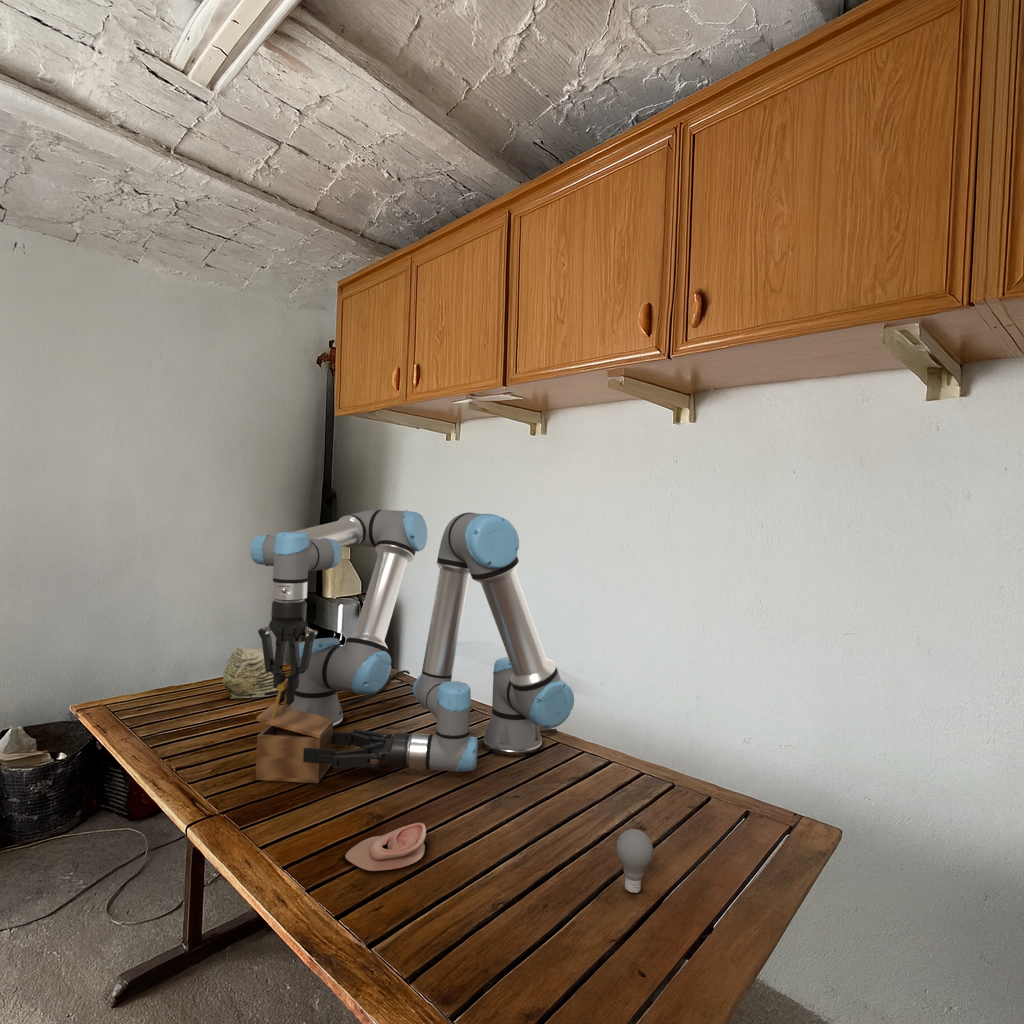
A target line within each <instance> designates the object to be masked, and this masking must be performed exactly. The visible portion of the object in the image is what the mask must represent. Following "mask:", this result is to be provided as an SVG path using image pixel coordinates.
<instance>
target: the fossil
mask: <svg viewBox="0 0 1024 1024" xmlns="http://www.w3.org/2000/svg"><path fill="white" fill-rule="evenodd" d="M222 676H223V677H222V685H223V687H224V688H225V690H226V691H228V693H229V698H230V699H250V698H264V697H271V696H275V695H276V696H277V689H275V688H274V687H273V680H274V675H273V673H271V672H267V671H266V670H265V663H264V655H263V648H260V647H258V648H251V647H247V646H246V647H245V646H238V647H237V648H236V649H235V650H233V651H232V653H231V656H230V657H229V659H228V660H227V663H226V666H225V668H224V671H223V675H222ZM286 690H287V688H286V689H285V691H286Z"/></svg>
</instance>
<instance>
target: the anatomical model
mask: <svg viewBox="0 0 1024 1024" xmlns="http://www.w3.org/2000/svg"><path fill="white" fill-rule="evenodd" d="M426 837H427V827H426V824H425V823H423V822H415V823H412V824H408V825H404V826H402V827H399V828H396V829H394V830H392V831H390V832H388V833H384V834H382V835H375V836H372V837H367V838H365V839H364V840H361V841H360V842H358V843H357V844H356V845H353V847H351V848H350V849H349V850H348V851H347V852H346V853H345V856H344V857H345V860H347V862H349V863H350V864H352V865H354V866H356V867H357V868H360V869H362V870H364V871H367V872H378V871H380V872H381V871H389V870H396V869H400V868H404V867H407V866H410V865H412V864H415V863H417V862H418V861H420V860H421V859H422V858H423V857H424V854H425V851H426V849H425V848H426V846H425V843H424V842H425V840H426Z"/></svg>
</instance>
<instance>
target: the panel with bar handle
mask: <svg viewBox="0 0 1024 1024" xmlns="http://www.w3.org/2000/svg"><path fill="white" fill-rule="evenodd" d="M287 680H288V677H287V678H285V681H283V682H282V683H281V684H279V685H278V686H277V690H278V694H276V698H275V702H273V703H272V704H271V705H270V706H268V707H267V708H266V709H264V711H262V712H261V713H260V714H258V715H257V716H256V718H255V721H256V722H259V723H262V724H265V725H268V726H269V725H272V726H276V727H280V728H283V729H287V730H291V731H294V732H298V733H301V734H305V735H309V736H312V737H316V738H320V737H321V736H322V735H323V734H324V733H325V732H326V730H327V729H328V728H329V727H330V726H331V725H332V724H333V719H330V718H326V717H323V716H319V715H315V714H312V713H308V712H304V711H301V710H297V709H294V708H290V706H287ZM285 689H286V690H285ZM283 690H285V698H284V701H283V702H282V704H279V702H280V698H281V694H282V691H283Z"/></svg>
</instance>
